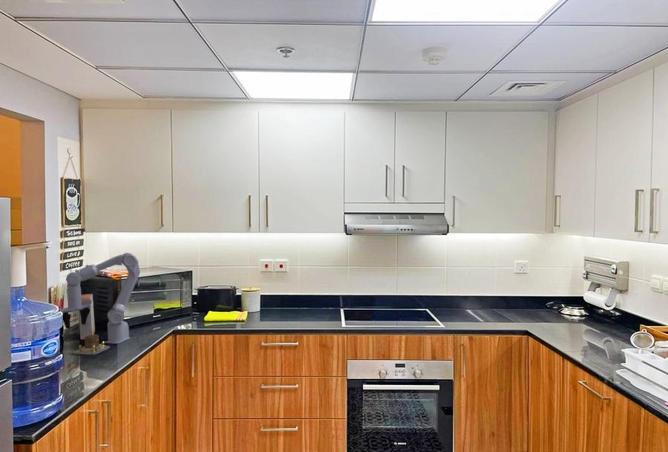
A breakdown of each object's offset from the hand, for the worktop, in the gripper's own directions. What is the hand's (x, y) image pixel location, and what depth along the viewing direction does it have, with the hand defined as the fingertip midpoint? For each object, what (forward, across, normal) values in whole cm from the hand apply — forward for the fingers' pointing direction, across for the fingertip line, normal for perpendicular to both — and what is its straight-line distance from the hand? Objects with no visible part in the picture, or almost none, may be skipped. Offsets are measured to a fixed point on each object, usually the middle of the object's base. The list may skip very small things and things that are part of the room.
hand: (75, 326), depth 213 cm
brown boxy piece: (+9, 0, -12) cm, 15 cm away
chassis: (+10, 0, -11) cm, 15 cm away
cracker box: (+11, +15, +15) cm, 24 cm away
